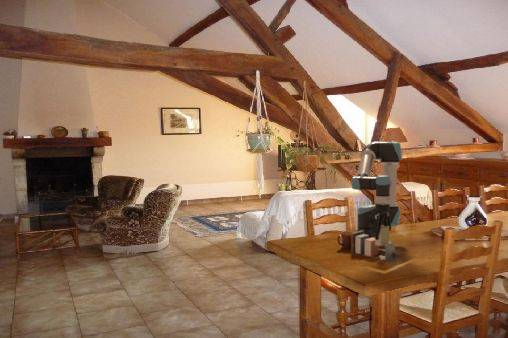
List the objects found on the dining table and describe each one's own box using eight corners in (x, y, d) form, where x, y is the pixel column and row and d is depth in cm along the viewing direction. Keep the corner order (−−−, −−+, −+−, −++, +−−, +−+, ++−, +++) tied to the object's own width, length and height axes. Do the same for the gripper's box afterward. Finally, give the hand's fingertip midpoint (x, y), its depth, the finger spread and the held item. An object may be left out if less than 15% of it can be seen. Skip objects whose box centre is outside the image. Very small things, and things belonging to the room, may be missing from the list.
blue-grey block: (354, 253, 265) (355, 236, 264) (362, 250, 270) (362, 233, 270) (360, 254, 262) (361, 237, 261) (368, 251, 267) (368, 235, 267)
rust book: (364, 255, 260) (364, 239, 260) (372, 252, 266) (372, 237, 265) (371, 256, 257) (371, 241, 256) (378, 254, 263) (379, 238, 262)
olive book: (374, 245, 255) (375, 227, 254) (382, 242, 260) (382, 225, 259) (381, 246, 252) (381, 228, 251) (389, 243, 257) (389, 226, 257)
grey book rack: (350, 255, 266) (351, 233, 265) (361, 251, 273) (361, 230, 272) (390, 264, 248) (390, 240, 247) (400, 260, 255) (400, 237, 254)
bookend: (385, 259, 251) (385, 245, 250) (392, 256, 256) (393, 242, 256) (391, 261, 248) (391, 246, 248) (398, 258, 254) (398, 243, 253)
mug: (348, 247, 284) (348, 231, 283) (358, 250, 276) (358, 233, 275) (333, 249, 279) (333, 233, 278) (342, 253, 271) (342, 236, 270)
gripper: (378, 206, 244) (377, 248, 246) (398, 202, 259) (397, 241, 260) (366, 204, 250) (365, 246, 252) (386, 200, 264) (385, 239, 266)
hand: (381, 243), depth 256 cm, fingers closed on olive book, 8 cm apart
